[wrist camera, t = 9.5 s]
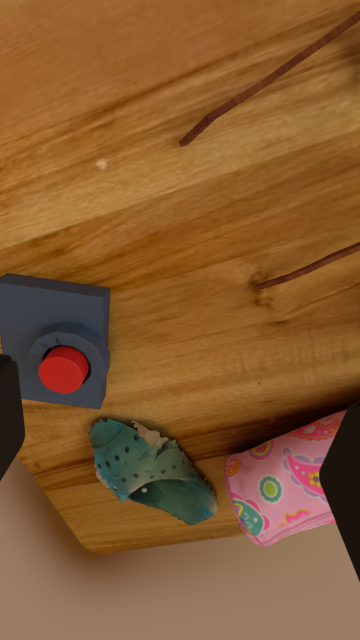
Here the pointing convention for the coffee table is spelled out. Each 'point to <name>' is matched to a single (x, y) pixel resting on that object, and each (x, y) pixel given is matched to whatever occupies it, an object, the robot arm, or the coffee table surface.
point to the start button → (63, 369)
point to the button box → (55, 333)
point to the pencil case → (282, 482)
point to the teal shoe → (150, 471)
